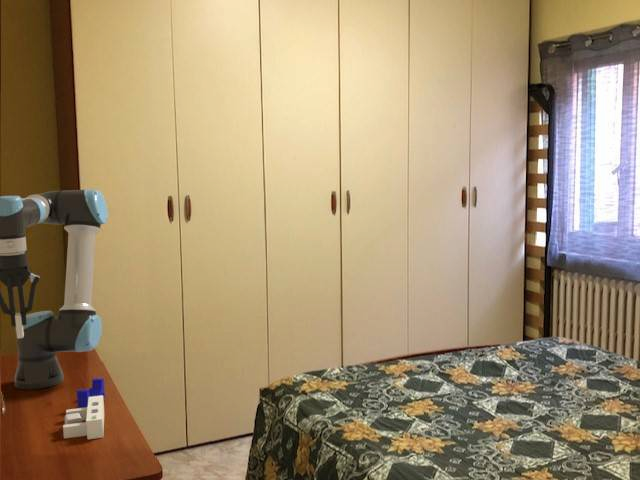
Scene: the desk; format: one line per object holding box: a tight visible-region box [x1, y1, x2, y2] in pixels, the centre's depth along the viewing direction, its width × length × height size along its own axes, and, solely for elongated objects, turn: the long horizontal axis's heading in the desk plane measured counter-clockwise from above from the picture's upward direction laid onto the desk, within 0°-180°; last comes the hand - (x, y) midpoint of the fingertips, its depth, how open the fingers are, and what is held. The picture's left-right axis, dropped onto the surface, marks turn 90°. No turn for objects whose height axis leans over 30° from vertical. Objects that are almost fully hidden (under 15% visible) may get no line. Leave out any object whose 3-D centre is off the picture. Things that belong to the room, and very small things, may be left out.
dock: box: [62, 395, 105, 440], centre depth 196 cm, size 20×10×5 cm, turn 16°
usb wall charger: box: [64, 413, 83, 425], centre depth 194 cm, size 4×7×4 cm, turn 26°
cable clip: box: [76, 377, 106, 408], centre depth 214 cm, size 12×4×6 cm, turn 173°
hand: (20, 336), depth 198 cm, fingers closed
